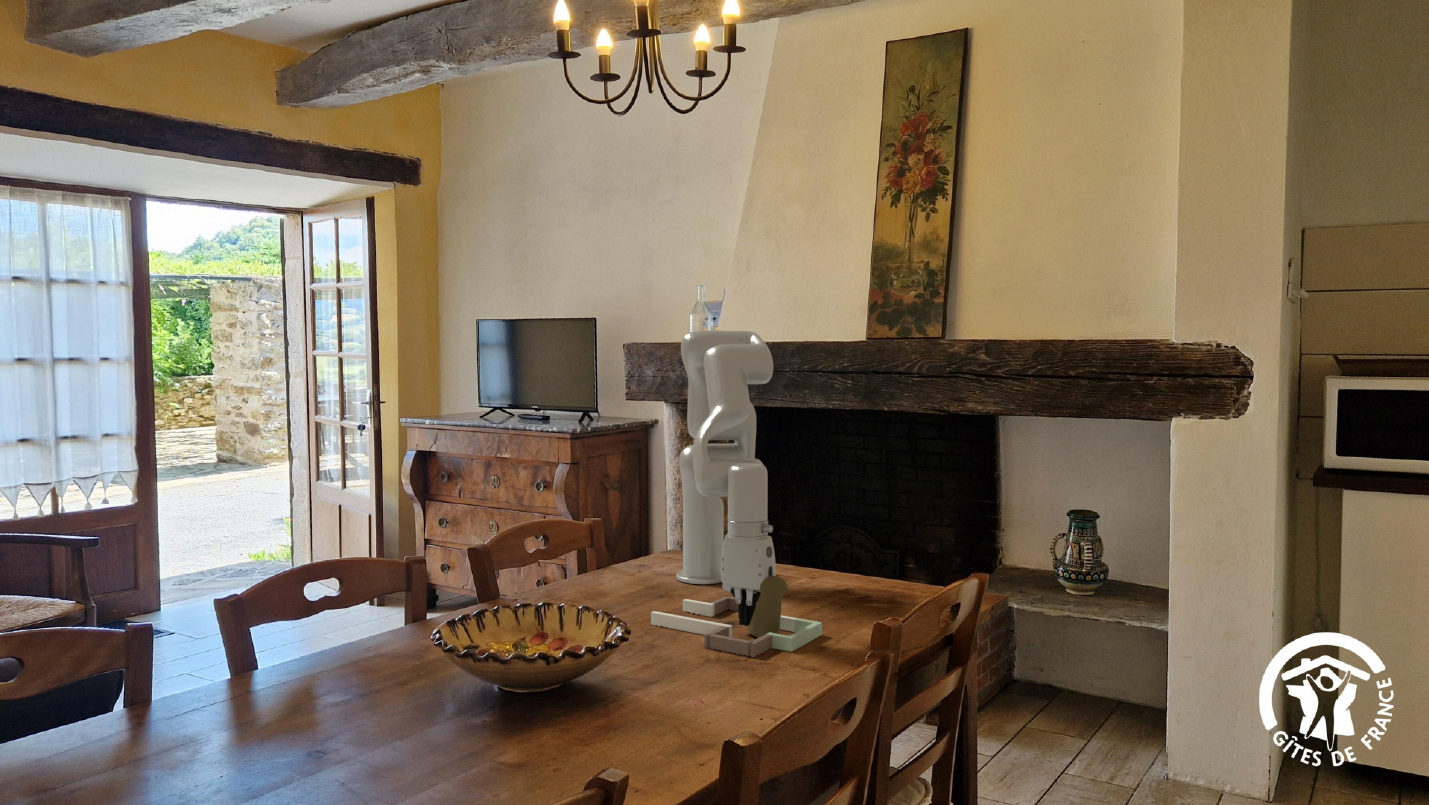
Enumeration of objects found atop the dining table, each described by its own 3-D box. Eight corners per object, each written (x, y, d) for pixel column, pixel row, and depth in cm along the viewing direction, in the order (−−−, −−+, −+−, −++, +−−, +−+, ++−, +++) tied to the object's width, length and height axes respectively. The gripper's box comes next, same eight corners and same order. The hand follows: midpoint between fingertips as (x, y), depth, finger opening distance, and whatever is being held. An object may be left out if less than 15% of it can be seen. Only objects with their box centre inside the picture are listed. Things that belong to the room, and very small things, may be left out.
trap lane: (703, 603, 209) (703, 592, 209) (836, 626, 193) (836, 614, 193) (630, 632, 188) (630, 620, 188) (773, 661, 172) (773, 648, 171)
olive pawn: (781, 630, 189) (792, 576, 187) (777, 642, 183) (788, 587, 181) (750, 622, 190) (761, 569, 188) (745, 634, 184) (756, 579, 182)
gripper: (791, 529, 186) (790, 625, 188) (725, 521, 195) (724, 613, 196) (771, 536, 180) (771, 635, 181) (703, 527, 188) (703, 622, 190)
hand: (747, 623), depth 189 cm, fingers closed
